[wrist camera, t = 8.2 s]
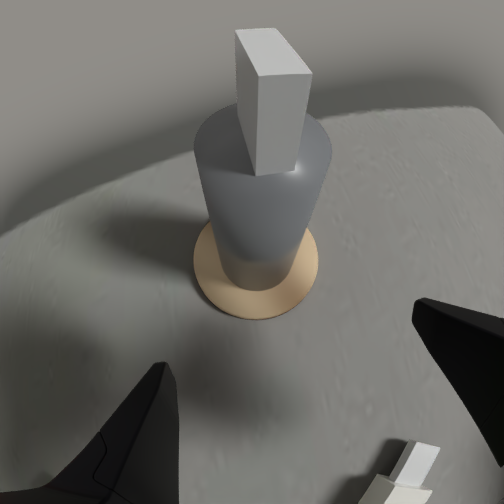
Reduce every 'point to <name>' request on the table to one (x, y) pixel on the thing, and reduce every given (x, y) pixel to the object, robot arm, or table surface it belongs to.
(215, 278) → the cork coaster
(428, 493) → the small lying plug
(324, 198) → the table surface
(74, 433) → the table surface
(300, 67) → the grey plug
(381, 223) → the table surface
